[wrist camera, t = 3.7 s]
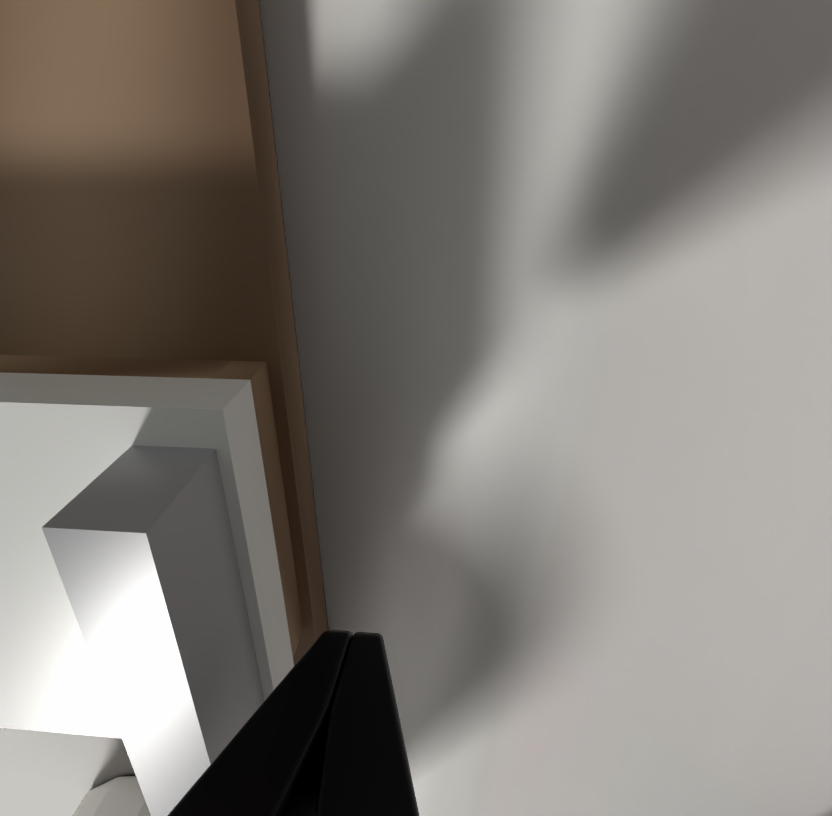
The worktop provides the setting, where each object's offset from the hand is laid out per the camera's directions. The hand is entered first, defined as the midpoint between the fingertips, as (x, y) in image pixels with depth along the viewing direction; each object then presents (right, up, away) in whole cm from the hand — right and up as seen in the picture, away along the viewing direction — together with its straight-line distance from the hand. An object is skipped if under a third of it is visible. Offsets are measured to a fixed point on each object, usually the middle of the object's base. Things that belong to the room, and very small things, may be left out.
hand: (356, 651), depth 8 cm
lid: (-5, +1, +2) cm, 6 cm away
